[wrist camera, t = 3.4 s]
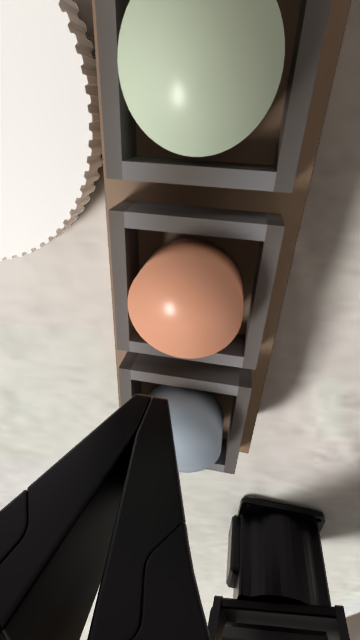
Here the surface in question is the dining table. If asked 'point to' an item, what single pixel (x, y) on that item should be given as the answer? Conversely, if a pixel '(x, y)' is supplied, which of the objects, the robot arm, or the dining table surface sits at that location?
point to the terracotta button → (188, 299)
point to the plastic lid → (45, 122)
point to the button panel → (216, 211)
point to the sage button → (200, 70)
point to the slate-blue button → (193, 426)
